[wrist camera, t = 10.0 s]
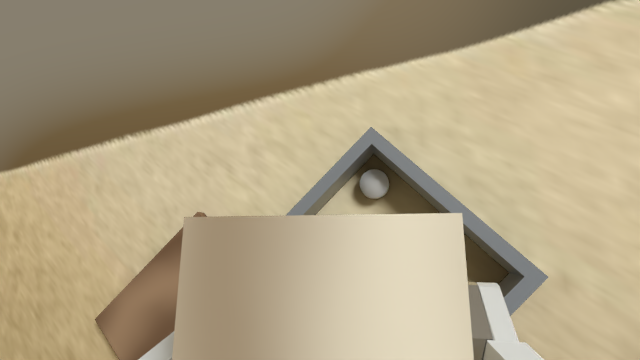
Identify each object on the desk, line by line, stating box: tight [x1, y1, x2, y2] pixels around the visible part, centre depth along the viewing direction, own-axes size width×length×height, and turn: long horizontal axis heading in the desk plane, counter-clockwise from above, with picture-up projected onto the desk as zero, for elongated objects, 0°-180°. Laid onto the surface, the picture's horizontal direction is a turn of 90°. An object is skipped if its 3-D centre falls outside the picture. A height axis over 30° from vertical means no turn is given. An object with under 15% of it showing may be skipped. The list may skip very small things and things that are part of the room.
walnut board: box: [95, 212, 207, 360], centre depth 29 cm, size 14×14×1 cm
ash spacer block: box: [172, 213, 474, 360], centre depth 10 cm, size 5×5×10 cm
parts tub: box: [286, 127, 548, 316], centre depth 25 cm, size 16×16×3 cm
